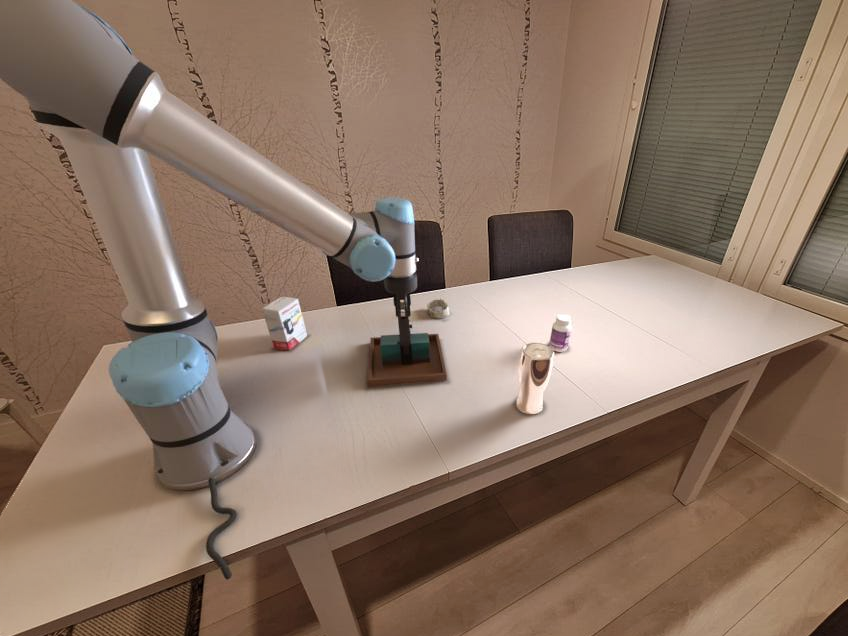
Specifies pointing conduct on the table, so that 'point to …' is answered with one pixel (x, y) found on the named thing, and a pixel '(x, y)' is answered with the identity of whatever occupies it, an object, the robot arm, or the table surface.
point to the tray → (405, 367)
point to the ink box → (285, 323)
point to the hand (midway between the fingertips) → (406, 357)
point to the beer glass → (534, 376)
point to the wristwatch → (438, 303)
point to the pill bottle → (560, 333)
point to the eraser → (393, 352)
